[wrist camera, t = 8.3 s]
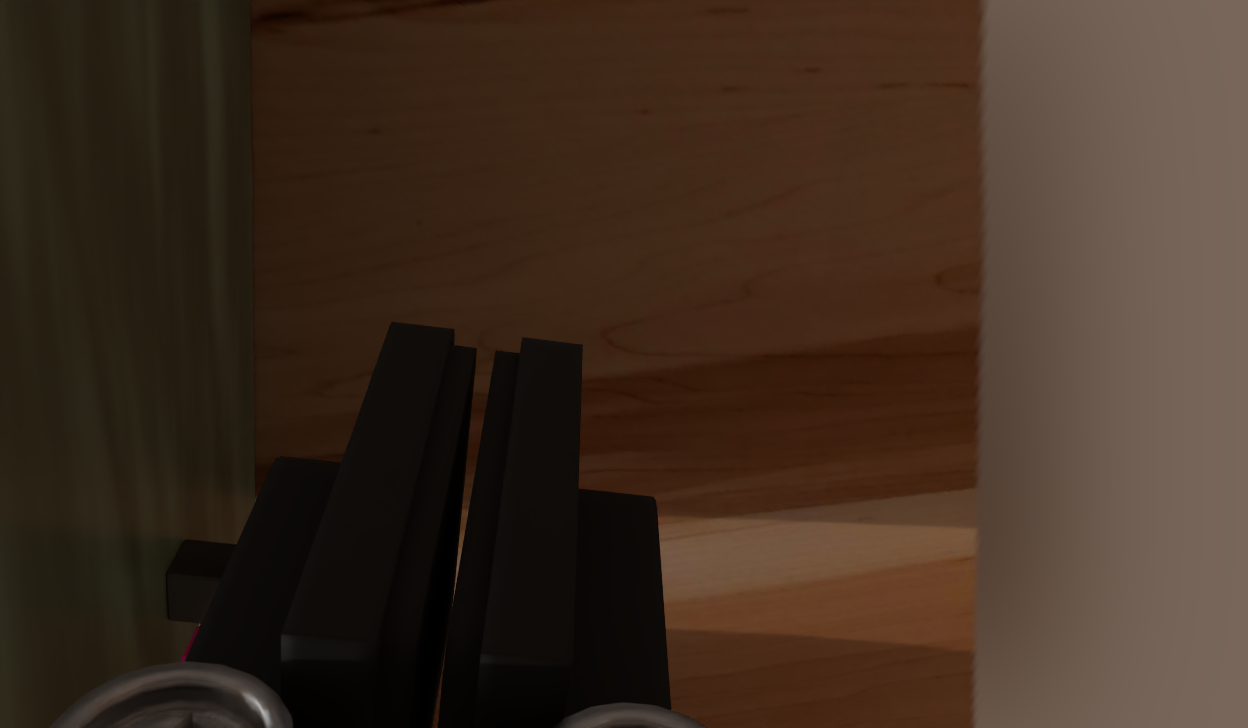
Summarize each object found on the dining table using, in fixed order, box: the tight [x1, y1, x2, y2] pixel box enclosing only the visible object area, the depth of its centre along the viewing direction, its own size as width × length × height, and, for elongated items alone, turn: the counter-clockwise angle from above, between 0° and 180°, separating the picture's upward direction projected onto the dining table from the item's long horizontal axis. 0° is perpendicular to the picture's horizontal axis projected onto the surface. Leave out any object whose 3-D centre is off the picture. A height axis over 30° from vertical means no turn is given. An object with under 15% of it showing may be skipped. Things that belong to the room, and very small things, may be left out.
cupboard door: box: [0, 0, 255, 728], centre depth 23 cm, size 6×26×24 cm, turn 172°
